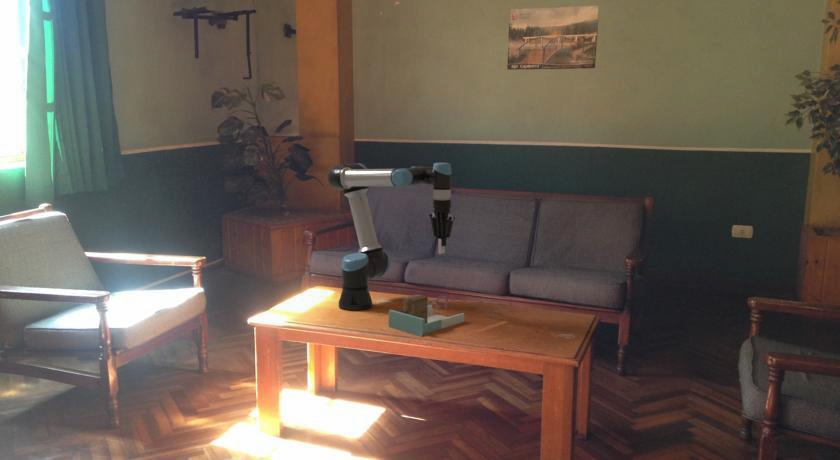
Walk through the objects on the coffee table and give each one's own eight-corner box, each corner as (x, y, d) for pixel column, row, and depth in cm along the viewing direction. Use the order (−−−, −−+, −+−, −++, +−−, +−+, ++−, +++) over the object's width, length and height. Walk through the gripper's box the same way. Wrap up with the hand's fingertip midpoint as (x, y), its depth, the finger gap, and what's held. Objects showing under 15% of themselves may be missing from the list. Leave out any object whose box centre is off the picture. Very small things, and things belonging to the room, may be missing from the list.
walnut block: (402, 326, 289) (402, 297, 288) (417, 322, 295) (417, 294, 293) (413, 329, 285) (413, 300, 283) (427, 325, 291) (427, 296, 289)
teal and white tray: (388, 326, 292) (388, 310, 291) (430, 314, 310) (430, 299, 309) (422, 337, 279) (422, 319, 278) (464, 323, 297) (464, 307, 296)
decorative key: (409, 312, 325) (449, 310, 316) (408, 312, 324) (448, 310, 315) (407, 297, 324) (447, 295, 316) (406, 298, 323) (446, 295, 314)
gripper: (459, 199, 304) (458, 254, 308) (436, 197, 313) (436, 250, 317) (447, 201, 299) (446, 256, 302) (424, 198, 308) (424, 252, 311)
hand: (441, 253), depth 310 cm, fingers closed
